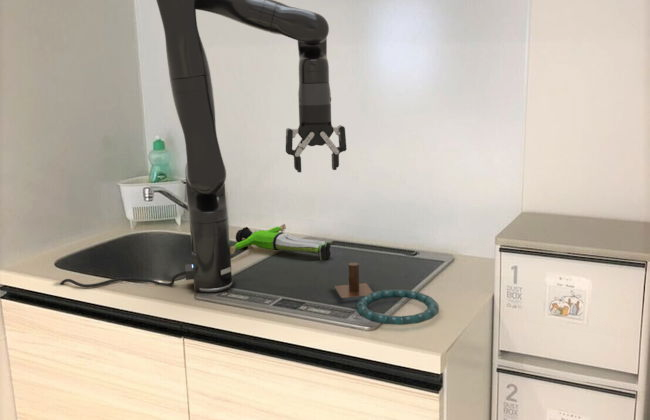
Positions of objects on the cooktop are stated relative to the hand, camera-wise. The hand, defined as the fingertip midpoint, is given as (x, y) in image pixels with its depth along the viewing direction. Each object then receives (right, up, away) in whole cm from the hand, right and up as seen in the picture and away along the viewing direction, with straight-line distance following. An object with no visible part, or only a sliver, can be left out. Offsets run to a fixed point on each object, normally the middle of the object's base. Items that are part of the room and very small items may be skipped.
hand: (316, 170), depth 164 cm
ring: (+18, -31, -14) cm, 38 cm away
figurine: (-10, -22, +30) cm, 39 cm away
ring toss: (+9, -29, -3) cm, 31 cm away
